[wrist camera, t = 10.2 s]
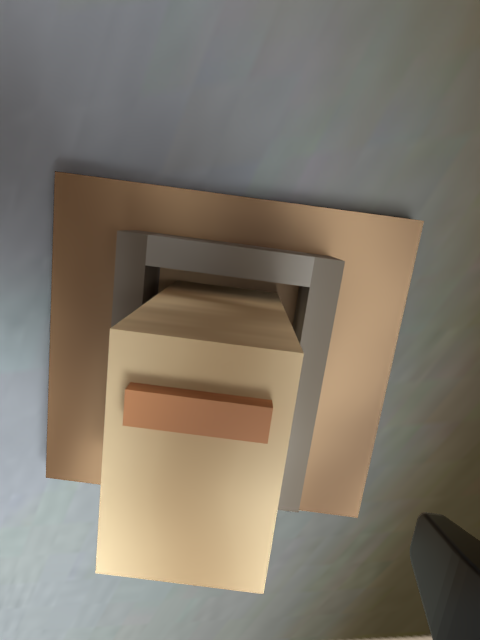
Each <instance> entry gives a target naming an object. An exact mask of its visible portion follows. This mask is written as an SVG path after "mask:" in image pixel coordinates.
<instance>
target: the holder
mask: <svg viewBox="0 0 480 640" xmlns="http://www.w3.org/2000/svg"><path fill="white" fill-rule="evenodd" d="M423 223H424V221H420V220H413V219H405V218H398V217H390V216H383V215H375V214H368V213H361V212H353V211H346V210H338V209H331V208H323V207H316V206H309V205H301V204H294V203H286V202H279V201H272V200H264V199H257V198H249V197H242V196H234V195H227V194H220V193H212V192H205V191H197V190H190V189H182V188H175V187H168V186H160V185H153V184H145V183H138V182H130V181H123V180H116V179H108V178H101V177H93V176H86V175H79V174H71V173H64V172H56V171H55V184H54V219H53V253H52V287H51V321H50V355H49V389H48V423H47V457H46V478H54V479H61V480H69V481H77V482H85V483H92V484H100V485H101V472H102V455H103V438H104V421H105V404H106V387H107V370H108V353H109V336H110V328H111V327H113V326H114V325H116V324H117V323H118V322H120V321H121V320H123V319H124V318H125V317H127V316H128V315H129V314H131V313H132V312H134V311H135V310H136V309H138V308H139V307H140V306H142V305H143V304H145V303H146V302H147V301H149V300H150V299H152V298H153V297H154V296H156V295H157V294H158V293H160V292H161V291H163V290H164V289H165V288H167V287H168V286H169V285H171V284H172V283H174V282H175V281H176V280H180V281H188V282H196V283H203V284H211V285H219V286H227V287H234V288H242V289H250V290H257V291H265V292H273V293H278V295H279V298H280V300H281V302H282V305H283V307H284V309H285V311H286V314H287V316H288V318H289V321H290V323H291V325H292V327H293V330H294V332H295V334H296V337H297V339H298V341H299V343H300V346H301V348H302V350H303V353H304V356H303V362H302V368H301V374H300V380H299V386H298V392H297V398H296V404H295V409H294V415H293V421H292V427H291V433H290V439H289V445H288V451H287V457H286V463H285V469H284V475H283V481H282V487H281V492H280V498H279V504H278V510H284V511H292V512H299V510H302V511H310V512H318V513H325V514H333V515H341V516H349V517H356V518H358V513H359V509H360V505H361V500H362V496H363V491H364V487H365V482H366V478H367V473H368V469H369V464H370V460H371V455H372V451H373V446H374V442H375V437H376V433H377V429H378V424H379V420H380V415H381V411H382V406H383V402H384V397H385V393H386V388H387V384H388V379H389V375H390V370H391V366H392V361H393V357H394V352H395V348H396V344H397V339H398V335H399V330H400V326H401V321H402V317H403V312H404V308H405V303H406V299H407V294H408V290H409V285H410V281H411V276H412V272H413V268H414V263H415V259H416V254H417V250H418V245H419V241H420V236H421V232H422V227H423Z"/></svg>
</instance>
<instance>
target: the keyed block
mask: <svg viewBox="0 0 480 640" xmlns="http://www.w3.org/2000/svg"><path fill="white" fill-rule="evenodd" d="M303 356H304V353H303V350H302V348H301V346H300V343H299V341H298V339H297V337H296V334H295V332H294V330H293V327H292V325H291V323H290V321H289V318H288V316H287V314H286V311H285V309H284V307H283V305H282V302H281V300H280V298H279V295H278V293H273V292H265V291H257V290H250V289H242V288H234V287H227V286H219V285H211V284H203V283H196V282H188V281H180V280H176V281H175V282H174V283H172V284H171V285H169V286H168V287H167V288H165V289H164V290H163V291H161V292H160V293H158V294H157V295H156V296H154V297H153V298H152V299H150V300H149V301H147V302H146V303H145V304H143V305H142V306H140V307H139V308H138V309H136V310H135V311H134V312H132V313H131V314H129V315H128V316H127V317H125V318H124V319H123V320H121V321H120V322H118V323H117V324H116V325H114V326H113V327H111V328H110V336H109V353H108V370H107V387H106V404H105V421H104V438H103V455H102V472H101V489H100V506H99V523H98V540H97V557H96V573H99V574H107V575H115V576H123V577H131V578H139V579H147V580H155V581H163V582H172V583H180V584H188V585H196V586H204V587H212V588H220V589H228V590H236V591H244V592H252V593H260V594H263V593H264V587H265V581H266V575H267V569H268V564H269V558H270V552H271V546H272V540H273V534H274V528H275V522H276V516H277V510H278V504H279V498H280V492H281V487H282V481H283V475H284V469H285V463H286V457H287V451H288V445H289V439H290V433H291V427H292V421H293V415H294V409H295V404H296V398H297V392H298V386H299V380H300V374H301V368H302V362H303Z"/></svg>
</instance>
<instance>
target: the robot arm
mask: <svg viewBox="0 0 480 640" xmlns="http://www.w3.org/2000/svg"><path fill="white" fill-rule="evenodd" d="M410 558H411V563H412V566H413V570H414V574H415V577H416V581H417V585H418V588H419V592H420V595H421V599H422V603H423V606H424V610H425V614H426V617H427V621H428V624H429V628H430V632H431V635H432V638H433V640H480V541H479V540H478V539H476V538H475V537H473V536H472V535H471V534H469V533H468V532H466V531H465V530H463V529H462V528H461V527H459V526H458V525H456V524H455V523H453V522H452V521H451V520H449V519H448V518H446V517H445V516H443V515H440V514H433V513H426V512H423V513H421V514H420V515H419V517H418V519H417V523H416V527H415V531H414V534H413V538H412V542H411V546H410Z"/></svg>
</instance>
